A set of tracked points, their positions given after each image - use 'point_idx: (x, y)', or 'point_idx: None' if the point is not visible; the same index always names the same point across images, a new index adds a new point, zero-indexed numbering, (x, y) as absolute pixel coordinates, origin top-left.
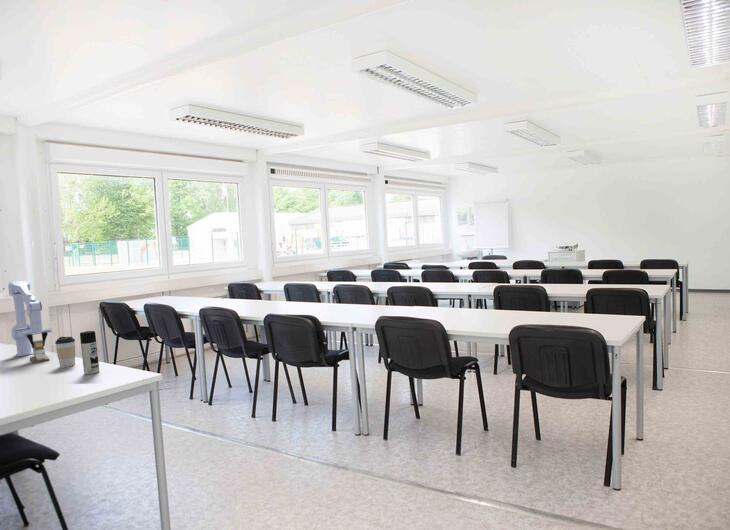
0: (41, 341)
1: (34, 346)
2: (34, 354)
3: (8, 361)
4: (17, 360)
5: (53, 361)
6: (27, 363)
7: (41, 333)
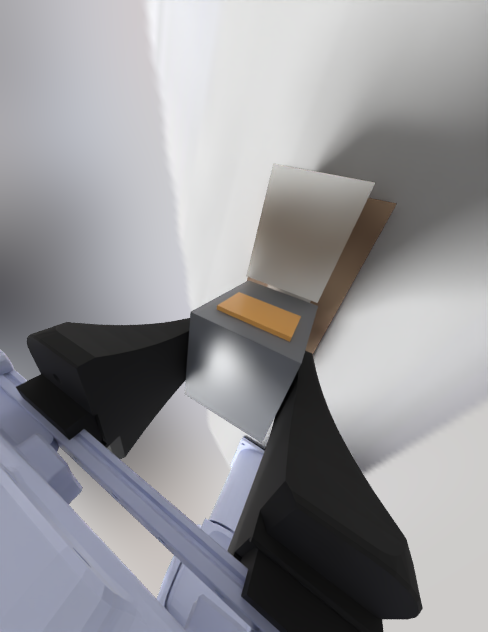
0: (210, 317)
1: (309, 328)
2: None
3: (378, 453)
4: (345, 422)
5: (283, 69)
6: (410, 260)
7: (95, 440)
